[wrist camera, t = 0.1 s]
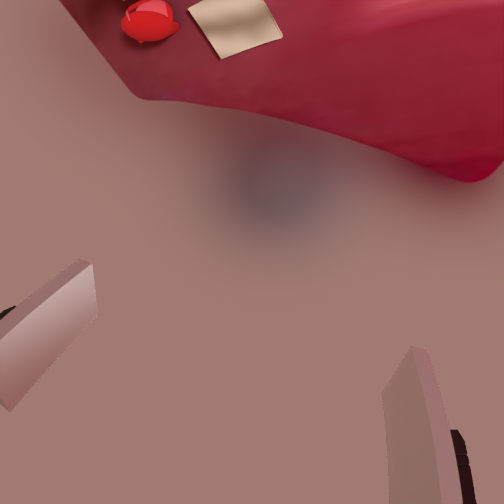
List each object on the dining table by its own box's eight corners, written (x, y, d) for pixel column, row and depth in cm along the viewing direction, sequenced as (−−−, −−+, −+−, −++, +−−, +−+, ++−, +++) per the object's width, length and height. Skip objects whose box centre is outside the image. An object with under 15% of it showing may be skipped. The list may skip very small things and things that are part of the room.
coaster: (190, 6, 29) (187, 8, 29) (250, -22, 24) (248, -21, 24) (223, 56, 36) (221, 59, 35) (283, 35, 31) (281, 37, 30)
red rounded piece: (112, 23, 29) (122, 55, 31) (121, -1, 24) (132, 33, 26) (164, 14, 33) (175, 44, 35) (179, -8, 28) (192, 23, 30)
